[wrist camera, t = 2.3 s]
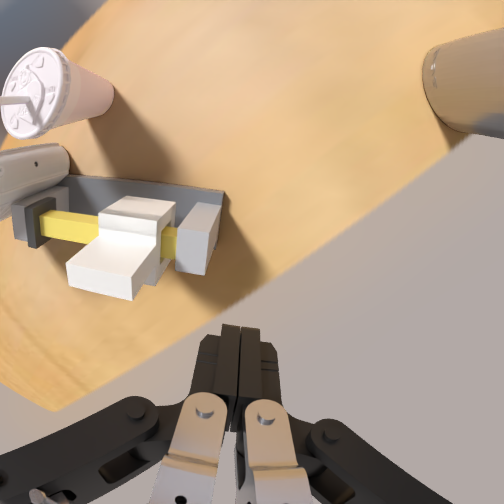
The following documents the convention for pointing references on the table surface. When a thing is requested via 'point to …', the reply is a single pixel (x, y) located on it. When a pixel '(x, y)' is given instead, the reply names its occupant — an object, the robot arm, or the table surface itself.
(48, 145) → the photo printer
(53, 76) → the smoothie
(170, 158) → the table surface
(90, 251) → the white stepped block
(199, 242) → the slider rail
